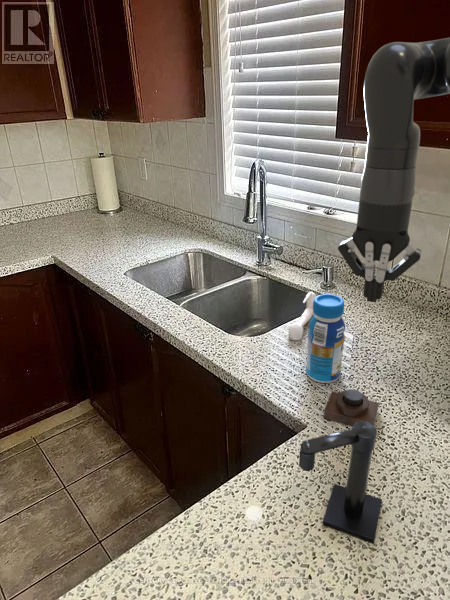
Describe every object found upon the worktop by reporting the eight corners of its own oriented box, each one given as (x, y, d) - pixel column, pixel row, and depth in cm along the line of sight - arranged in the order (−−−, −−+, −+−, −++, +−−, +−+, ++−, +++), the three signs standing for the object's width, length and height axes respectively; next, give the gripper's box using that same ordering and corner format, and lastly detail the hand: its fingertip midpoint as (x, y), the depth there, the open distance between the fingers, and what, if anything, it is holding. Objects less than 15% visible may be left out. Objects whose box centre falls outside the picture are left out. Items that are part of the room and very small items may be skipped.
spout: (365, 440, 69) (368, 418, 67) (377, 456, 66) (381, 433, 64) (294, 458, 66) (296, 435, 64) (304, 475, 63) (306, 452, 61)
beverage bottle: (299, 367, 111) (303, 294, 102) (331, 361, 112) (337, 289, 103) (314, 387, 103) (319, 311, 94) (347, 380, 105) (355, 305, 96)
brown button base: (377, 410, 96) (380, 396, 94) (372, 432, 90) (374, 416, 88) (331, 399, 99) (332, 384, 98) (323, 418, 94) (324, 403, 92)
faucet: (287, 349, 126) (284, 326, 119) (307, 306, 137) (305, 282, 130) (301, 353, 124) (299, 329, 118) (320, 309, 135) (319, 285, 128)
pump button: (362, 398, 94) (363, 391, 93) (359, 408, 91) (360, 402, 90) (345, 394, 95) (346, 387, 94) (342, 404, 92) (342, 397, 92)
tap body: (381, 503, 75) (393, 436, 68) (373, 544, 69) (386, 474, 62) (333, 487, 78) (341, 421, 72) (322, 525, 72) (329, 456, 65)
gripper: (335, 198, 66) (327, 302, 74) (432, 206, 61) (412, 317, 69) (346, 187, 72) (337, 285, 80) (435, 193, 67) (416, 297, 75)
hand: (372, 299), depth 74 cm, fingers closed
